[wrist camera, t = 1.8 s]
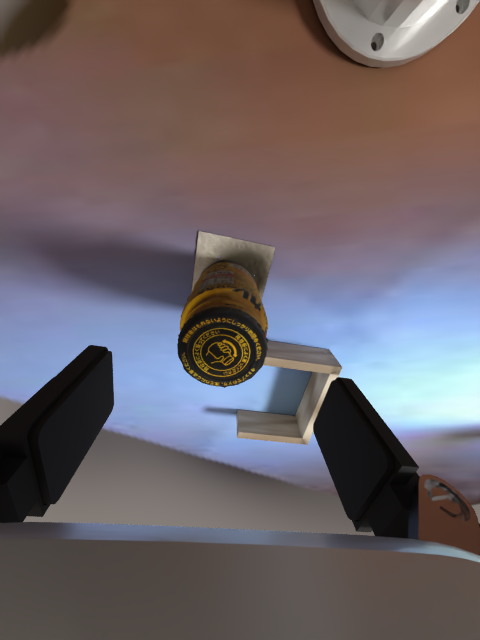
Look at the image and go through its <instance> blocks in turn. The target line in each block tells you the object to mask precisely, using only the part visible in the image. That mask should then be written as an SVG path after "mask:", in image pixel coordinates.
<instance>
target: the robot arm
mask: <svg viewBox="0 0 480 640" xmlns="http://www.w3.org/2000/svg"><path fill="white" fill-rule="evenodd" d="M479 1H480V0H313V2H314V5H315V8H316V11H317V14H318V17H319V20H320V21H321V23H322V25H323V27H324V29H325V31H326V32H327V34H328V36H329V37H330V39H331V40H332V41H333V42H334V43H335V45H336V46H337V47H338V48H339V49H340V51H342V52H343V53H344V54H346V55H347V56H349V57H350V58H351V59H353V60H354V61H356V62H359V63H362V64H364V65H367V66H370V67H382V68H387V67H393V66H398V65H403V64H405V63H407V62H410V61H412V60H414V59H417V58H419V57H421V56H422V55H423V54H425V53H426V52H428V51H429V50H431V49H432V48H434V47H435V46H437V45H438V44H439V43H440V42H441V41H442V40H444V39H445V38H446V37H447V36H448V35H450V34H451V33H452V32H453V31H454V30H455V29H456V28H457V27H458V26H459V25H460V24H461V23H462V22H463V21H464V20H465V19H466V18H467V17H468V16H469V14H470V13H471V12H472V11H473V9H474V8H475V6H476V5H477V4H478V2H479ZM371 46H372V47H373V49H372V47H371ZM113 406H114V392H113V365H112V352H111V351H108V349H107V348H106V347H102V346H94V345H90V346H88V347H87V348H86V349H85V350H84V351H83V352H81V353H80V354H79V355H78V356H77V357H76V358H75V359H74V360H73V361H72V362H71V363H70V364H68V365H67V366H66V367H65V368H64V369H63V370H62V371H61V372H60V373H59V374H58V375H57V376H55V377H54V378H52V379H51V380H50V381H49V382H48V383H47V384H45V385H44V386H43V387H42V388H41V389H40V390H39V391H38V392H37V393H36V394H34V395H33V396H32V397H31V398H30V399H29V400H28V401H27V402H26V403H25V404H24V405H22V406H21V407H20V408H19V409H18V410H17V411H16V412H15V413H14V414H13V415H12V416H11V417H9V418H8V419H7V420H6V421H5V422H4V423H3V424H2V425H1V426H0V640H480V524H479V523H478V519H477V516H476V513H475V511H474V509H473V508H472V506H471V505H470V503H469V502H468V501H467V500H466V498H465V497H464V496H463V495H462V494H461V493H460V492H459V491H458V490H456V489H455V488H454V487H453V486H451V485H450V484H448V483H447V482H446V481H444V480H442V479H440V478H438V477H436V476H432V475H422V476H421V477H419V476H418V474H417V473H416V471H417V470H418V468H419V467H418V465H417V464H416V463H415V461H414V460H413V459H412V457H411V456H410V455H409V453H408V452H407V451H406V450H405V448H404V447H403V446H402V444H401V443H400V442H399V440H398V439H397V438H396V436H395V435H394V434H393V433H392V431H391V430H390V429H389V427H388V426H387V425H386V423H385V422H384V421H383V419H382V418H381V417H380V416H379V414H378V413H377V412H376V410H375V409H374V408H373V406H372V405H371V404H370V402H369V401H368V400H367V399H366V397H365V396H364V395H363V393H362V392H361V391H360V389H359V388H358V387H357V385H356V384H355V383H354V382H353V380H352V379H348V378H340V377H338V378H336V379H335V380H333V381H332V382H331V384H330V386H329V388H328V391H327V393H326V395H325V398H324V400H323V402H322V405H321V407H320V410H319V412H318V414H317V417H316V419H315V421H314V424H313V431H314V434H315V437H316V439H317V442H318V444H319V447H320V449H321V452H322V454H323V457H324V459H325V462H326V464H327V467H328V469H329V472H330V475H331V477H332V480H333V482H334V485H335V487H336V490H337V492H338V495H339V497H340V500H341V502H342V505H343V507H344V510H345V512H346V514H347V516H348V518H349V519H350V520H352V522H353V524H354V526H355V529H356V531H359V532H371V531H372V530H373V532H374V534H375V536H366V535H347V534H327V533H307V532H287V531H266V530H245V529H222V528H199V527H176V526H149V525H125V524H99V523H52V522H51V523H50V522H23V521H24V519H25V518H26V516H37V517H43V515H44V514H45V512H46V510H47V509H48V507H49V506H50V504H55V503H56V502H57V501H58V500H59V498H60V497H61V495H62V494H63V492H64V490H65V489H66V487H67V485H68V484H69V482H70V480H71V478H72V477H73V475H74V473H75V472H76V470H77V468H78V467H79V465H80V464H81V462H82V460H83V459H84V457H85V455H86V454H87V452H88V450H89V448H90V447H91V445H92V443H93V442H94V440H95V439H96V437H97V435H98V434H99V432H100V430H101V429H102V427H103V425H104V424H105V422H106V420H107V419H108V417H109V415H110V414H111V412H112V409H113Z"/></svg>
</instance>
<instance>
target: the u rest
mask: <svg viewBox="0 0 480 640" xmlns="http://www.w3.org/2000/svg"><path fill="white" fill-rule="evenodd" d="M267 346H268V350H267V355H266V358H265V361H264V364H263V365H267V366H275V367H282V368H290V369H297V370H304V371H312V374H311V376H310V379H309V382H308V384H307V387H306V389H305V392H304V394H303V397H302V399H301V402H300V405H299V407H298V410H297V412H296V415H295V416H292V415H283V414H274V413H265V412H256V411H247V410H238V411H237V438H245V439H255V440H265V441H275V442H286V443H296V444H306V445H308V442H309V440H310V438H311V436H312V433H313V424H314V421H315V419H316V417H317V414H318V412H319V410H320V407H321V405H322V402H323V400H324V398H325V395H326V393H327V391H328V388H329V386H330V384H331V382H332V381H333V380H335V379H336V378H338V376H339V374H340V372H341V369H342V366H341V365H340V364H339V362H338V361H337V359H336V358H335V357H334V355H333V354H332V352H331V351H330V350H329V349H322V348H315V347H309V346H302V345H295V344H288V343H281V342H275V341H268V343H267Z"/></svg>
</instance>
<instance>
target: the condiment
mask: <svg viewBox="0 0 480 640" xmlns="http://www.w3.org/2000/svg"><path fill="white" fill-rule="evenodd" d="M274 251H275V247H271V246H267V245H262V244H258V243H253V242H249V241H244V240H239V239H234V238H230V237H225V236H220V235H215V234H210V233H206V232H201V231H199V235H198V243H197V251H196V260H195V268H194V276H193V285H192V293H191V295H190V296H189V297H188V300H187V303H186V305H185V307H184V310H183V312H182V315H181V321H180V331H181V332H180V334H179V335H178V336H179V338H178V344H177V345H178V356H179V359H180V360H181V362H182V364H183V367H184V369H185V371H186V372H187V373H188V374H190V375H191V376H192V377H193V378H195V379H197V380H198V381H200V382H202V383H205V384H208V385H213V386H221V387H224V388H225V387H227V386H234V385H238V384H240V383H242V382H245V381H246V380H248V379H251V378H252V377H253V376H254V375H255V374H256V373H257V372H258V370H259V369H260V368H261V367H262V366H263V364H264V361H265V358H266V355H267V350H268V346H267V343H268V339H267V338H266V334H267V329H268V322H267V317H266V313H265V310H264V307H263V304H262V301H261V300H262V296H263V292H264V289H265V285H266V282H267V277H268V274H269V269H270V266H271V262H272V259H273V255H274ZM218 256H221V257H220V258H219V259H217V257H218ZM215 259H217V261H214V260H215ZM254 275H255V276H254Z"/></svg>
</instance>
